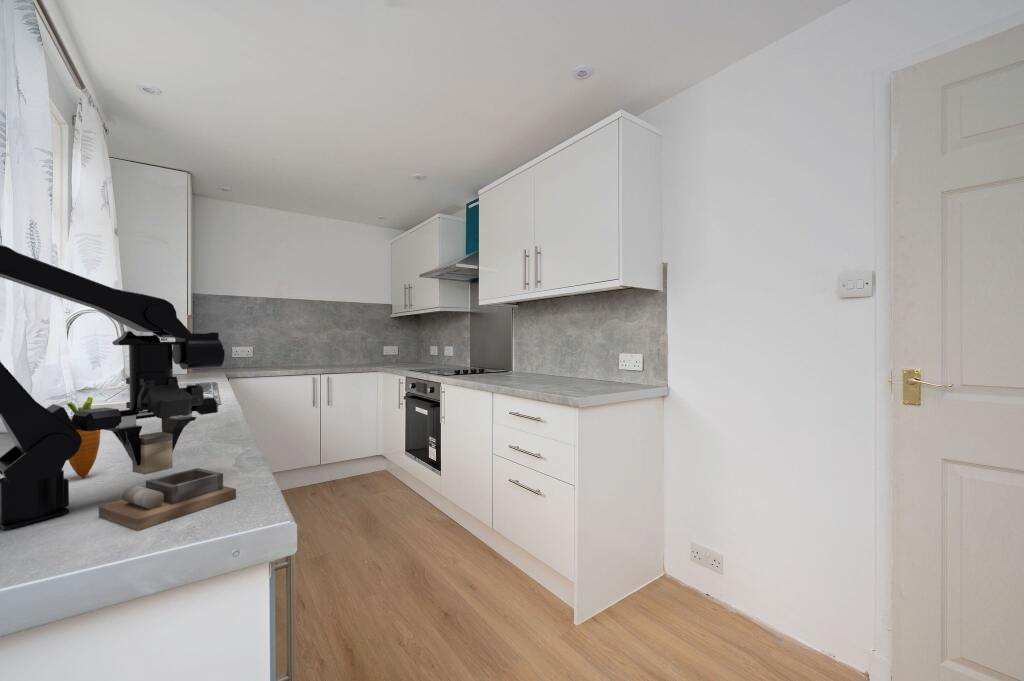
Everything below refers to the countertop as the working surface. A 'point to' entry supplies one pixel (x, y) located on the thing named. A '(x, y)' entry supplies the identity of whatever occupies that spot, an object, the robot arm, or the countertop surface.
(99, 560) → the countertop surface
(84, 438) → the carrot
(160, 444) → the beige banded block
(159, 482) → the base
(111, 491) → the countertop surface
